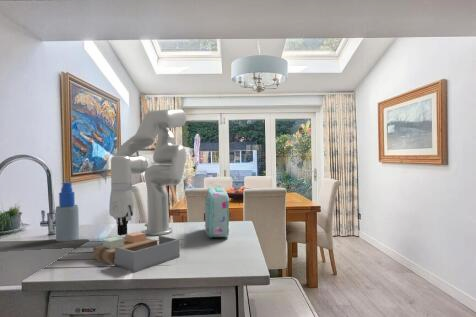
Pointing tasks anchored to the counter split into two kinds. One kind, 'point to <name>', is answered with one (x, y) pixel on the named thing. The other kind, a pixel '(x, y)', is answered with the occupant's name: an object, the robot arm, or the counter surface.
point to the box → (147, 255)
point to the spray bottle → (67, 215)
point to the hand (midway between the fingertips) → (122, 234)
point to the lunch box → (216, 212)
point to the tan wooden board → (109, 254)
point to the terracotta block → (135, 237)
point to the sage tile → (113, 242)
